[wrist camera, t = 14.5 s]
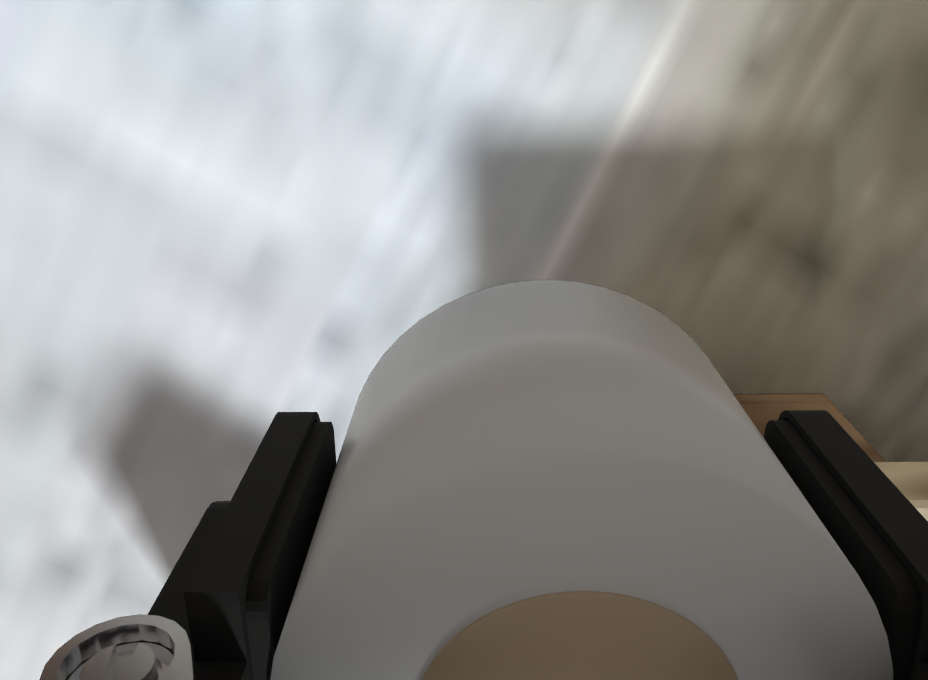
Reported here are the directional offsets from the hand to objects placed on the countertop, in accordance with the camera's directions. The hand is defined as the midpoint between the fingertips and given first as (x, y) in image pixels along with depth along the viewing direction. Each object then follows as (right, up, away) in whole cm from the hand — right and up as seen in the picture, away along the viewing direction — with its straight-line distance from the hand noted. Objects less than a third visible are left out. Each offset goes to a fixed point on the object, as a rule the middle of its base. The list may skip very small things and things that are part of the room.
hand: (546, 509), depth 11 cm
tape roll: (0, 0, +1) cm, 1 cm away
